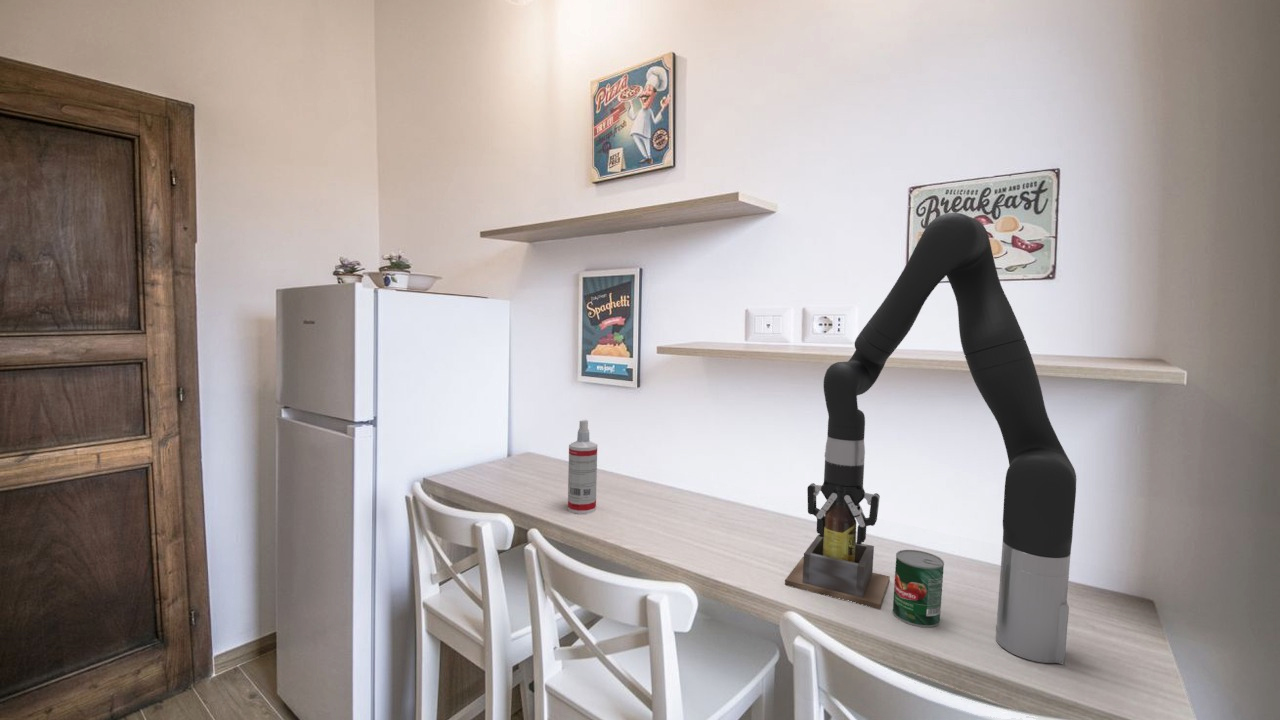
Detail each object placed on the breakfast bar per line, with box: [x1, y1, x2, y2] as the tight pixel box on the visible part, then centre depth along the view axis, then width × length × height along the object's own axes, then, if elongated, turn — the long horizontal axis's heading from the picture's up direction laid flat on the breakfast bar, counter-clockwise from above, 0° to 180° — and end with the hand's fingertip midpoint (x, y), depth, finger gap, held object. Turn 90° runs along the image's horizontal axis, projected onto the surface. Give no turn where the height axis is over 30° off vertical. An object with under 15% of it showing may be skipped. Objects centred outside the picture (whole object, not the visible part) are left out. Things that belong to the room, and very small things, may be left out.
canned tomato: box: [891, 549, 945, 628], centre depth 104 cm, size 8×8×11 cm
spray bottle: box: [567, 419, 598, 515], centre depth 158 cm, size 8×8×25 cm
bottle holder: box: [784, 534, 891, 610], centre depth 117 cm, size 18×14×7 cm
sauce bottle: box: [823, 485, 857, 563], centre depth 117 cm, size 7×6×20 cm
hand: (840, 539), depth 117 cm, fingers open, 7 cm apart
